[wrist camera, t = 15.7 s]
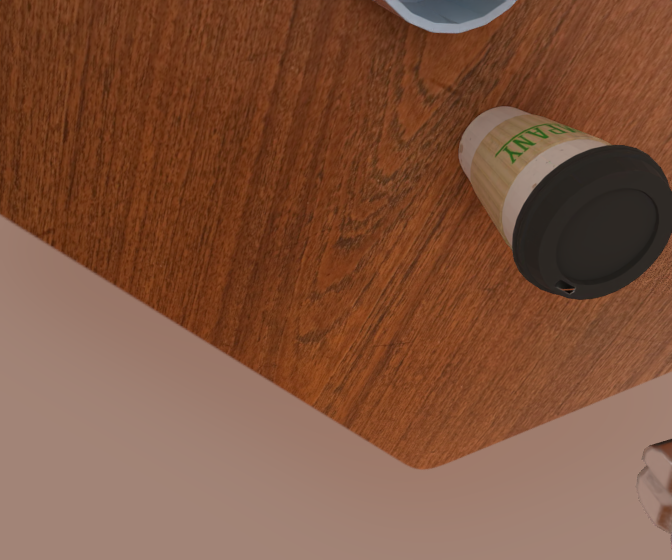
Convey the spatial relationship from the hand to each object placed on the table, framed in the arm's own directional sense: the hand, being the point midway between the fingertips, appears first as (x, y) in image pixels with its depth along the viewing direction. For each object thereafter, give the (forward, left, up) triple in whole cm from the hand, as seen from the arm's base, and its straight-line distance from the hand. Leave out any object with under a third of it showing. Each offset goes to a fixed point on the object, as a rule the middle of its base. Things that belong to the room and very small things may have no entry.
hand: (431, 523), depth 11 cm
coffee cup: (+20, 0, -35) cm, 41 cm away
